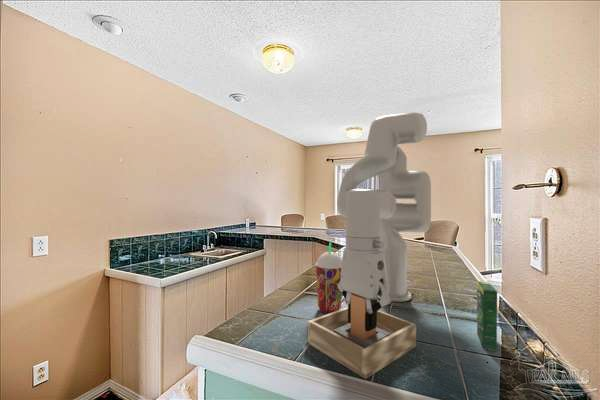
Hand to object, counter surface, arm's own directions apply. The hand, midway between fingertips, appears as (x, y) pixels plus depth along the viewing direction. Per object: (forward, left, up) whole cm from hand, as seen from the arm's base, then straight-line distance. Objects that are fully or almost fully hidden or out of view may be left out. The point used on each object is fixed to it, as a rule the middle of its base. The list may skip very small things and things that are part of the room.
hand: (361, 324), depth 62 cm
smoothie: (-8, -18, -5) cm, 20 cm away
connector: (-1, 0, -3) cm, 3 cm away
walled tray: (0, 0, -5) cm, 5 cm away
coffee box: (-24, +17, -5) cm, 30 cm away
